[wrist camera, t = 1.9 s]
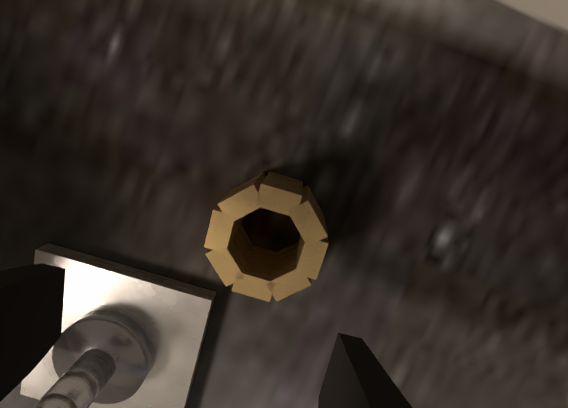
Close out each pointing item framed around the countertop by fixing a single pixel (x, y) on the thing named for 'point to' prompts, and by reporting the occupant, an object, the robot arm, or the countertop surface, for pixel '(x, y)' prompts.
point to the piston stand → (120, 337)
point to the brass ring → (259, 261)
